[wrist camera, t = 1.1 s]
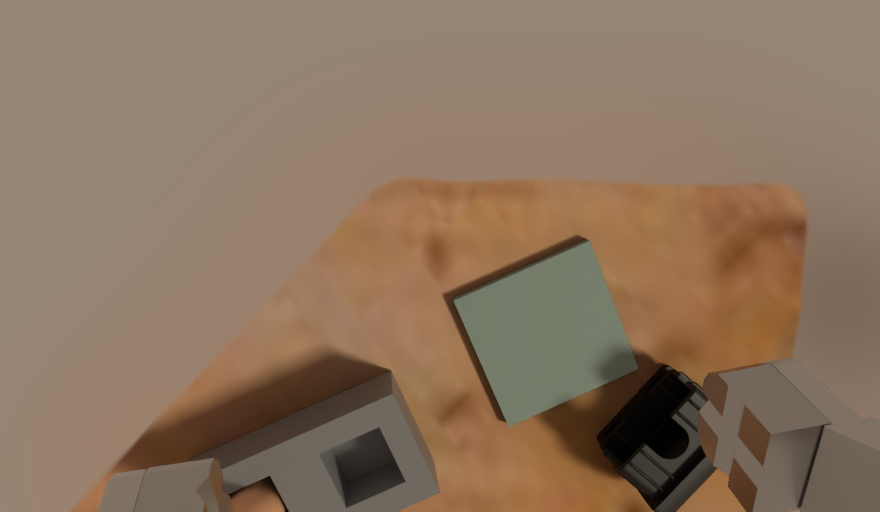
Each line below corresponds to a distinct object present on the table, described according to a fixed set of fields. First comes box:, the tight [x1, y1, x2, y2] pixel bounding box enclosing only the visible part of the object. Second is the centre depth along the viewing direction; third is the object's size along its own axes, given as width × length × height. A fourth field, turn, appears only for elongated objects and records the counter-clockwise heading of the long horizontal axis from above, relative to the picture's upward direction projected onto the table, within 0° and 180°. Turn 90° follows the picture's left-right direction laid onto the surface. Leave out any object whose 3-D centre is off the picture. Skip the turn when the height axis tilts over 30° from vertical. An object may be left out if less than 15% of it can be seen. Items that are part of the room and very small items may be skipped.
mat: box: [452, 239, 639, 427], centre depth 56 cm, size 12×12×1 cm
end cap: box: [597, 365, 717, 512], centre depth 55 cm, size 10×7×7 cm
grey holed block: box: [188, 371, 440, 512], centre depth 54 cm, size 9×18×5 cm, turn 113°
